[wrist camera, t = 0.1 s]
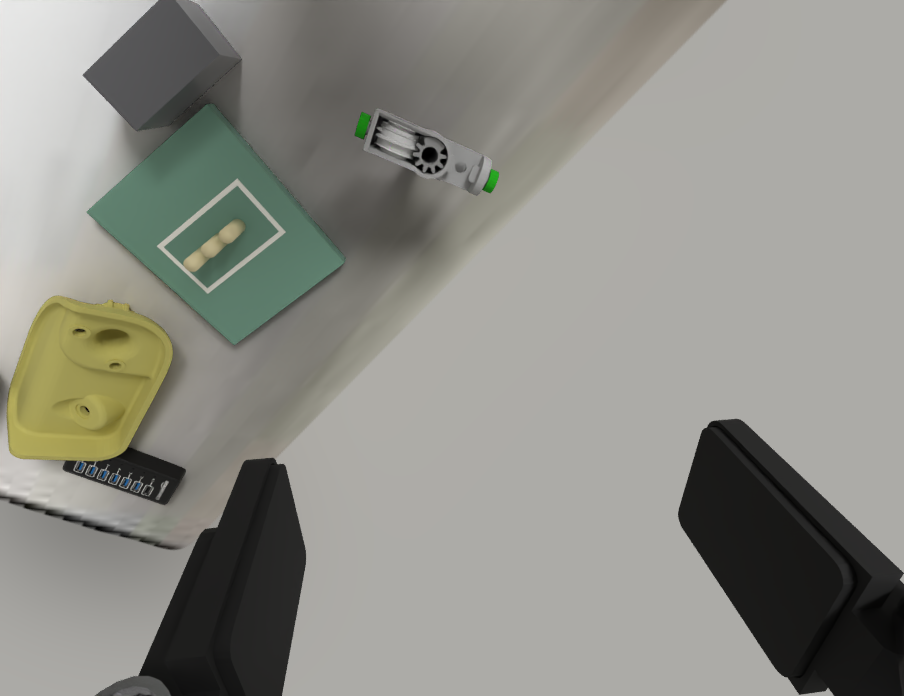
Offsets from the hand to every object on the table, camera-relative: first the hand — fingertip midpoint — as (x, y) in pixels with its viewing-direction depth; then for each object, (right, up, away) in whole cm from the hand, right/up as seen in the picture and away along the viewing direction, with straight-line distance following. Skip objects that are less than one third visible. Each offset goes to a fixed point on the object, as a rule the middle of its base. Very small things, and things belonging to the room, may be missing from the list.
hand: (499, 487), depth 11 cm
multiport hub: (-38, -10, +44) cm, 58 cm away
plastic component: (-36, +2, +38) cm, 52 cm away
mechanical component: (-4, +21, +31) cm, 38 cm away
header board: (-21, +13, +33) cm, 41 cm away
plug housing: (-22, +25, +26) cm, 42 cm away
